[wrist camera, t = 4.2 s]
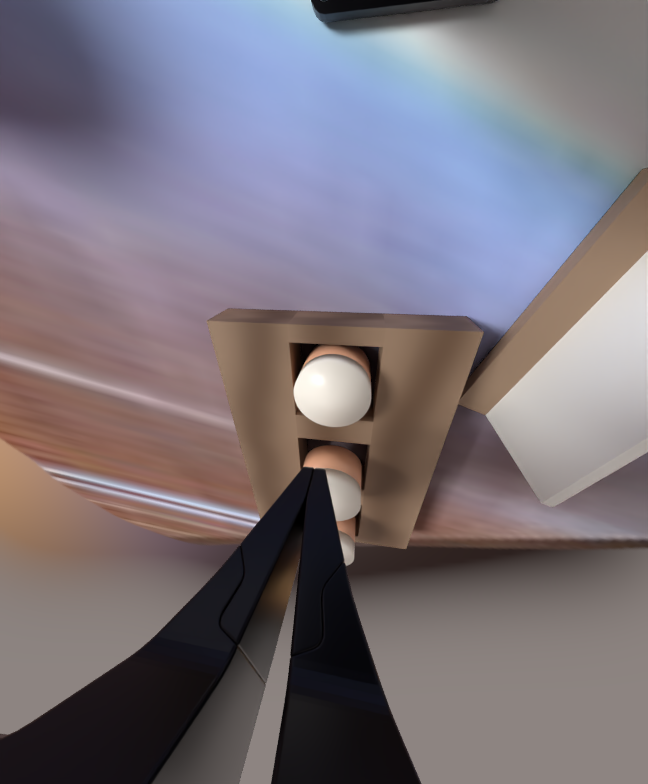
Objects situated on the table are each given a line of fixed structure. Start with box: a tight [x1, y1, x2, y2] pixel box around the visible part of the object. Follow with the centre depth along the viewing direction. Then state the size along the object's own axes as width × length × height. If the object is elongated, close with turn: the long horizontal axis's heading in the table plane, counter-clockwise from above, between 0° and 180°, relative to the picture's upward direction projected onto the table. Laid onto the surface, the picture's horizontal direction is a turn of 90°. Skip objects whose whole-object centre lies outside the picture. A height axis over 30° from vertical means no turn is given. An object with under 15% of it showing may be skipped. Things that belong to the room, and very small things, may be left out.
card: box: [458, 168, 648, 507], centre depth 10 cm, size 3×12×7 cm, turn 160°
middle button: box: [303, 445, 362, 521], centre depth 17 cm, size 4×4×3 cm
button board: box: [207, 309, 484, 549], centre depth 19 cm, size 14×21×2 cm, turn 0°
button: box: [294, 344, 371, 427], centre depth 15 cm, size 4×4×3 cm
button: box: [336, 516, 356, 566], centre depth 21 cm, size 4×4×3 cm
